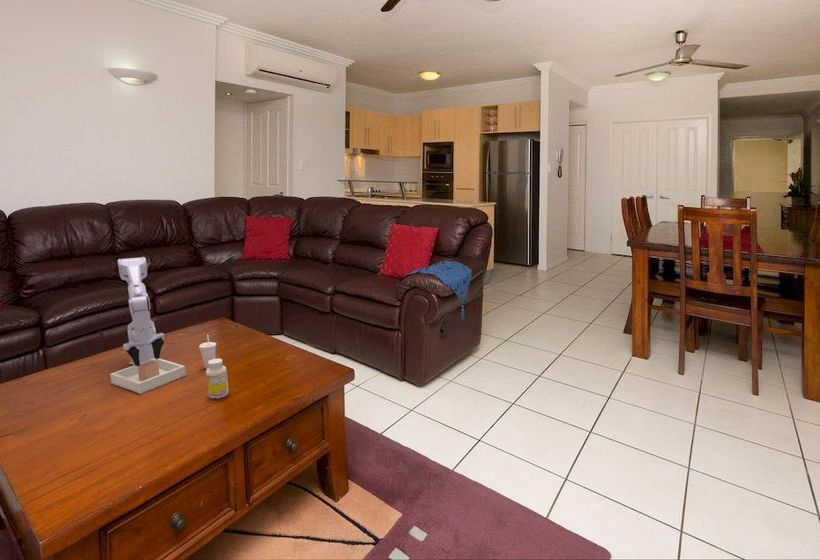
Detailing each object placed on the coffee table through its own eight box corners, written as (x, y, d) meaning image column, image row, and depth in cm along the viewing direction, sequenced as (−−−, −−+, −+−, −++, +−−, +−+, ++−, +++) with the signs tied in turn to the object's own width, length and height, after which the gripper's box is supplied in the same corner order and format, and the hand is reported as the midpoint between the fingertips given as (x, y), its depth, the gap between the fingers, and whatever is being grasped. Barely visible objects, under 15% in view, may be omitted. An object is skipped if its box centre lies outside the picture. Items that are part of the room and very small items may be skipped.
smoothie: (212, 370, 182) (208, 337, 179) (197, 369, 183) (194, 336, 180) (221, 364, 188) (218, 332, 185) (207, 363, 189) (204, 331, 186)
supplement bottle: (212, 391, 164) (208, 357, 162) (231, 390, 165) (227, 356, 162) (205, 399, 158) (201, 365, 155) (225, 398, 158) (221, 364, 156)
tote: (111, 383, 171) (110, 373, 170) (157, 366, 186) (156, 357, 185) (140, 394, 162) (138, 383, 161) (186, 375, 177) (185, 366, 177)
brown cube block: (139, 379, 173) (137, 364, 172) (152, 374, 177) (150, 360, 176) (147, 382, 171) (145, 367, 169) (159, 377, 175) (157, 362, 174)
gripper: (129, 335, 162) (134, 370, 164) (167, 324, 174) (171, 357, 177) (117, 332, 165) (123, 367, 168) (156, 321, 177) (160, 354, 180)
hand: (147, 361), depth 173 cm, fingers open, 7 cm apart
